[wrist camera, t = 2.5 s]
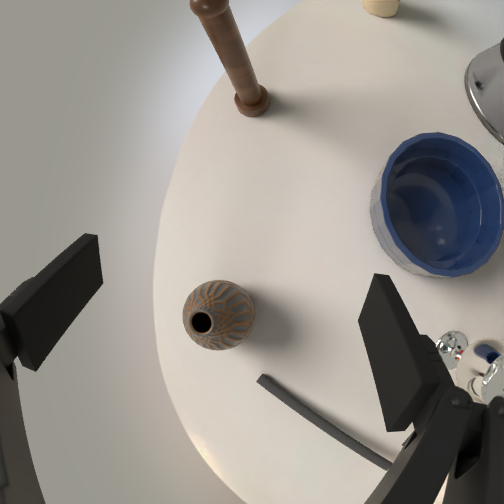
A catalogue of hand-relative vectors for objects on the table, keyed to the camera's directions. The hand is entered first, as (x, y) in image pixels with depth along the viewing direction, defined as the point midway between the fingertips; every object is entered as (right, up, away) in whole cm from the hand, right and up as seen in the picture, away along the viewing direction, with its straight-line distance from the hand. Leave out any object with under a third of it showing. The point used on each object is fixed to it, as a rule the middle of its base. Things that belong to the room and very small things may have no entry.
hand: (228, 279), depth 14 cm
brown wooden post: (+1, +19, +21) cm, 29 cm away
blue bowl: (+20, +5, +17) cm, 27 cm away
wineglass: (+23, -10, +15) cm, 30 cm away
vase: (-1, -5, +20) cm, 21 cm away
